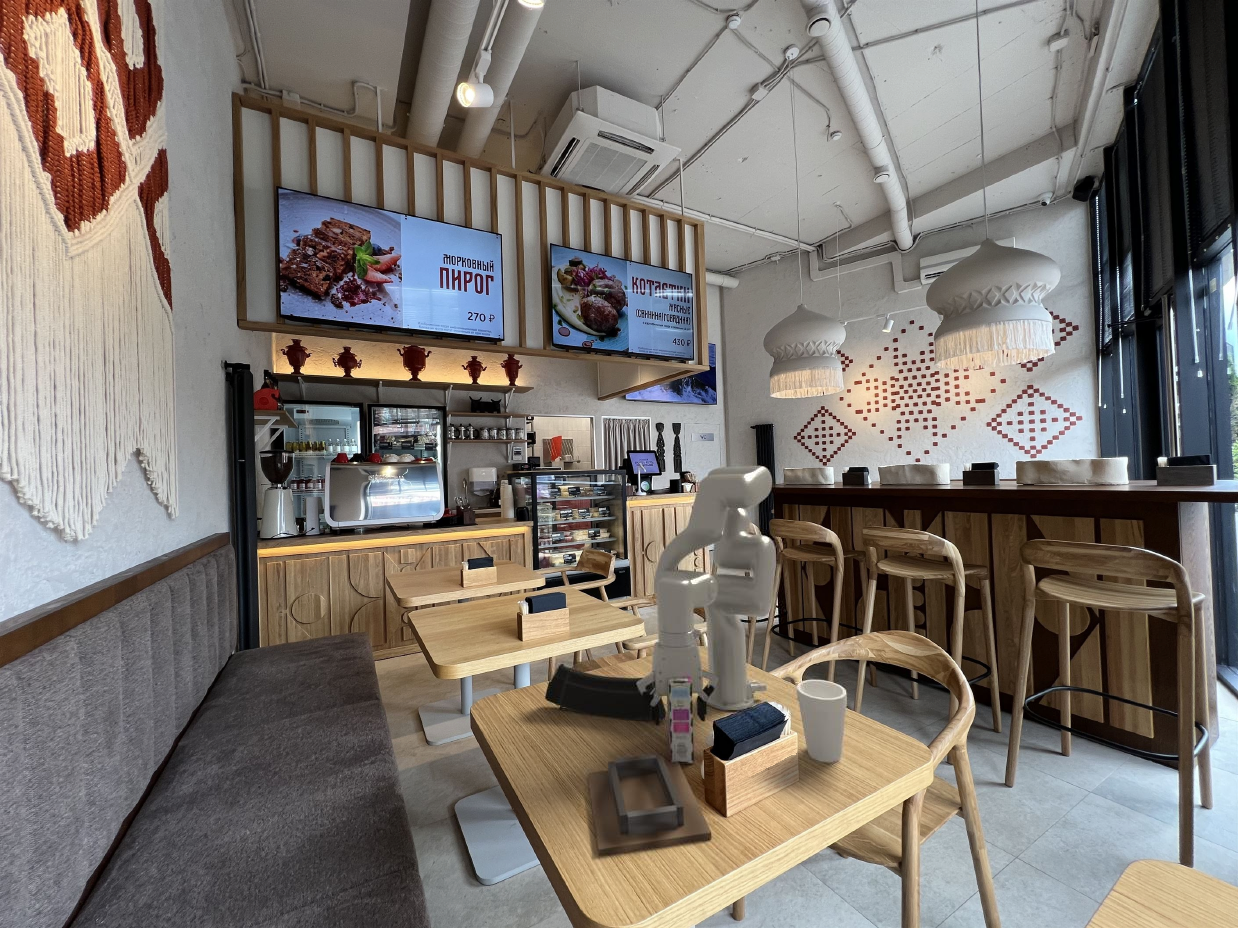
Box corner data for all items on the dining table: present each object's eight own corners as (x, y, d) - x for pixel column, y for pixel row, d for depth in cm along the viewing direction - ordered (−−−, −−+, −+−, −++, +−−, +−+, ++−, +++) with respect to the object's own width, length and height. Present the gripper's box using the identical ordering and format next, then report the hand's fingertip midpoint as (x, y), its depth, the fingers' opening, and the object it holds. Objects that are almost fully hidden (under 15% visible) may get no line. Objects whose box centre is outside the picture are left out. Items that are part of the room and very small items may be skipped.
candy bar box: (696, 764, 100) (692, 681, 100) (670, 764, 100) (667, 682, 100) (690, 734, 111) (687, 660, 111) (667, 735, 111) (664, 661, 112)
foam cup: (792, 743, 106) (789, 681, 106) (833, 739, 107) (831, 677, 107) (813, 769, 97) (810, 701, 97) (859, 764, 98) (855, 697, 98)
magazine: (675, 681, 118) (563, 636, 128) (672, 687, 115) (557, 640, 125) (657, 748, 120) (548, 698, 129) (654, 756, 116) (542, 704, 126)
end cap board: (678, 766, 99) (677, 745, 99) (711, 838, 80) (710, 813, 80) (587, 778, 97) (586, 757, 97) (598, 855, 77) (597, 829, 77)
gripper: (710, 629, 110) (712, 708, 109) (632, 634, 107) (634, 716, 107) (722, 639, 102) (724, 724, 102) (638, 646, 100) (641, 733, 99)
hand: (678, 720), depth 104 cm, fingers open, 9 cm apart
